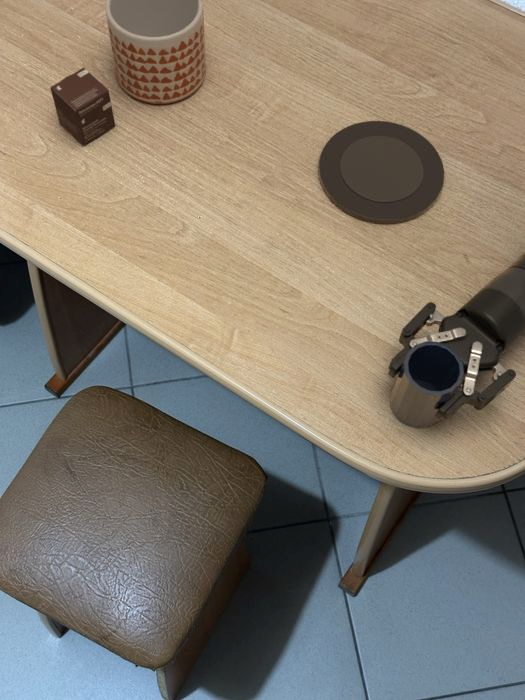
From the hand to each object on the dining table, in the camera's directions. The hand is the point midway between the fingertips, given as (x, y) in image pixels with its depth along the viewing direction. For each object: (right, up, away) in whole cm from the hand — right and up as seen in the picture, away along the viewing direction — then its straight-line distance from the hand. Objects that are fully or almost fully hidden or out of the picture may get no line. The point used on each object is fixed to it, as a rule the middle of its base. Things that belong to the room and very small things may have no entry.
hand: (414, 394), depth 98 cm
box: (-44, +38, +25) cm, 63 cm away
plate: (-1, +31, +23) cm, 38 cm away
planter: (-33, +48, +30) cm, 66 cm away
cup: (+1, -1, +6) cm, 6 cm away
